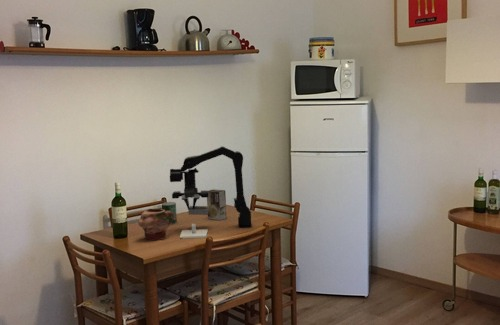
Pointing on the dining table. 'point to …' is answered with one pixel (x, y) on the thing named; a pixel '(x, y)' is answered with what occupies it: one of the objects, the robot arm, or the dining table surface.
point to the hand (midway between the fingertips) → (191, 210)
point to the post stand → (194, 233)
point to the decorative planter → (155, 223)
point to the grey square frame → (199, 210)
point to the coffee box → (216, 204)
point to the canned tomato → (172, 208)
